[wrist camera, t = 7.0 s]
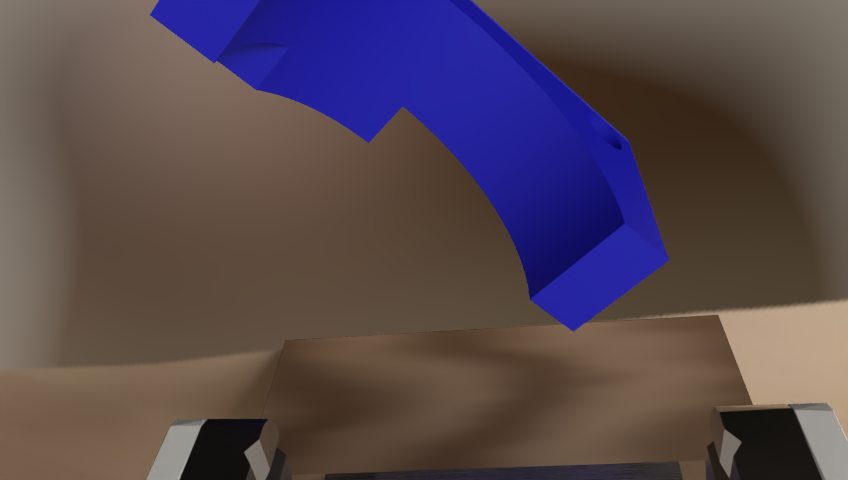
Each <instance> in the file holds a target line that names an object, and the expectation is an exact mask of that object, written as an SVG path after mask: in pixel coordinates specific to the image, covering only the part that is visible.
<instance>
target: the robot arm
mask: <svg viewBox="0 0 848 480" xmlns="http://www.w3.org/2000/svg"><path fill="white" fill-rule="evenodd" d="M709 426H710V430H711V433H712V437H713V440H714V441H712V442H711V443H710V444H709V445H708V446H707V448H706V460H705V467H706V480H848V439H847V437H846V435H845V433H844V431H843V429H842V427H841V425H840V423H839V421H838V419H837V417H836V415H835V412H834V410H833V408H831V407H830V406H829V405H828V404H827V403H808V404H788V405H786V404H770V405H743V406H716V407H713V409H712V412H711V416H710V423H709ZM279 437H280V434H279V431H278V428H277V426H276V423H275V421H274V420H271V419H203V420H177V421H176V422H175V423H174V424H173V425H172V426H171V427H170V428H169V430H168V432H167V434H166V436H165V438H164V441H163V443H162V445H161V447H160V449H159V451H158V454H157V456H156V458H155V460H154V462H153V465H152V467H151V469H150V471H149V473H148V476H147V478H146V480H292V478H291V470H290V464H289V461H288V458H287V455H286V454H285V453H283V452H282V451H281V450H280V449H278V448H277V444H278V440H279Z"/></svg>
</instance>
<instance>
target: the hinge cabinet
mask: <svg viewBox="0 0 848 480" xmlns="http://www.w3.org/2000/svg"><path fill="white" fill-rule="evenodd" d="M743 405H753V404H752V401H751V399H750V396H749V394H748V391H747V388H746V386H745V383H744V381H743V378H742V376H741V373H740V370H739V368H738V365H737V363H736V360H735V357H734V355H733V352H732V350H731V347H730V345H729V342H728V339H727V337H726V334H725V332H724V329H723V326H722V324H721V321H720V319H719V316H718V315H715V316H698V317H681V318H663V319H646V320H629V321H611V322H594V323H584V324H583V325H582V326H580V327H579V328H578V329H576V330H575V331H574V332H573V331H571V330H570V329H569V328H567V327H566V326H565V325H563V324H559V325H542V326H525V327H507V328H490V329H473V330H455V331H438V332H422V333H403V334H386V335H369V336H351V337H334V338H317V339H301V340H300V339H299V340H286V341H285V343H284V347H283V350H282V353H281V356H280V360H279V363H278V366H277V369H276V372H275V376H274V379H273V382H272V385H271V389H270V392H269V395H268V398H267V401H266V405H265V408H264V411H263V414H262V418H261V419H271V420H274V421H275V423H276V426H277V428H278V431H279V434H280V437H279V440H278V444H277V448H278V449H280V450H281V451H282V452H283V453H285V454H286V455H287V458H288V461H289V464H290V470H291V478H292V480H706V467H705V460H706V448H707V446H708V445H709V444H710V443H711V442H712V441H714V440H713V437H712V433H711V430H710V426H709V423H710V416H711V412H712V409H713V407H716V406H743Z"/></svg>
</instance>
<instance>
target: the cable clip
mask: <svg viewBox="0 0 848 480" xmlns="http://www.w3.org/2000/svg"><path fill="white" fill-rule="evenodd" d="M150 15H151V16H152V17H153V18H155V19H156V20H157V21H159V22H160V23H161V24H163V25H164V26H165V27H167V28H168V29H169V30H171V31H172V32H173V33H175V34H176V35H177V36H179V37H180V38H181V39H183V40H184V41H185V42H187V43H188V44H189V45H191V46H192V47H193V48H195V49H196V50H198V51H199V52H200V53H201V54H203V55H204V56H206V57H207V58H208V59H209V60H211V61H212V62H213V63H215V62H216V61H218V62H220V63H221V64H223V65H224V66H225V67H226V68H228V69H229V70H230V71H232V72H233V73H235V74H236V75H237V76H238V77H240V78H241V79H242V80H244V81H245V82H247V83H248V84H249V85H251V86H252V87H253V88H254V89H256V90H260V91H265V92H269V93H273V94H277V95H280V96H283V97H286V98H290V99H292V100H295V101H297V102H300V103H302V104H305V105H307V106H309V107H311V108H313V109H315V110H317V111H319V112H321V113H323V114H325V115H327V116H329V117H331V118H332V119H334V120H336V121H337V122H339V123H340V124H342V125H344V126H345V127H347V128H348V129H350V130H351V131H353V132H354V133H356V134H357V135H359V136H360V137H361V138H363V139H364V140H365V141H367V142H368V143H369V142H370V141H371V140H372V139H373V138H374V136H375V135H376V134H377V133H378V132H379V131H380V130H381V129H382V128H383V127H384V126H385V125H386V124H387V122H388V121H389V120H390V119H391V118H392V117H393V116H394V115H395V114H396V113H397V112H398V111H399V109H400V108H401V107H402V106H403V107H405V108H406V109H407V110H408V111H409V112H410V113H412V114H413V115H414V116H415V117H416V118H417V119H418V120H420V121H421V122H422V123H423V124H424V125H425V126H426V127H427V128H428V129H429V130H430V131H431V132H432V133H434V134H435V135H436V136H437V137H438V138H439V139H440V140H441V141H442V142H443V143H444V145H445V146H446V147H448V149H449V150H450V151H451V152H452V153H453V154H454V155H455V156H456V157H457V159H458V160H459V161H460V162H461V163H462V164H463V166H464V167H465V168H466V169H467V170H468V172H469V173H470V174H471V175H472V177H473V178H474V179H475V181H476V182H477V183H478V185H479V186H480V187H481V189H482V190H483V191H484V193H485V194H486V196H487V197H488V198H489V200H490V202H491V203H492V205H493V206H494V208H495V209H496V211H497V213H498V214H499V216H500V218H501V219H502V221H503V223H504V225H505V226H506V228H507V230H508V232H509V234H510V236H511V238H512V240H513V242H514V244H515V246H516V249H517V252H518V254H519V256H520V259H521V262H522V265H523V268H524V271H525V275H526V279H527V283H528V288H529V295H530V300H531V301H533V302H534V303H535V304H537V305H538V306H539V307H541V308H542V309H543V310H545V311H546V312H547V313H549V314H550V315H551V316H553V317H554V318H555V319H557V320H558V321H559V322H561V323H562V324H563V325H565V326H566V327H567V328H569V329H570V330H571V331H573V332H574V331H575V330H576V329H578V328H579V327H580V326H582V325H583V324H584V323H586V322H587V321H588V320H590V319H591V318H592V317H594V316H595V315H596V314H598V313H599V312H600V311H602V310H603V309H605V308H606V307H607V306H608V305H610V304H611V303H612V302H614V301H615V300H617V299H618V298H619V297H620V296H622V295H623V294H625V293H626V292H627V291H629V290H630V289H631V288H633V287H634V286H635V285H637V284H638V283H639V282H641V281H642V280H643V279H645V278H646V277H647V276H649V275H650V274H651V273H653V272H654V271H655V270H657V269H658V268H659V267H661V266H662V265H663V264H665V263H666V262H667V261H669V258H668V255H667V252H666V250H665V247H664V244H663V241H662V238H661V235H660V232H659V229H658V226H657V223H656V220H655V217H654V214H653V211H652V208H651V205H650V202H649V199H648V196H647V193H646V191H645V188H644V185H643V182H642V179H641V176H640V173H639V170H638V167H637V164H636V161H635V158H634V155H633V152H632V149H631V146H630V143H629V141H628V140H627V139H626V138H625V137H624V136H623V135H622V134H621V133H619V132H618V131H617V130H616V129H615V128H614V127H613V126H612V125H611V124H610V123H608V122H607V121H606V120H605V119H604V118H603V117H602V116H601V115H599V114H598V113H597V112H596V111H595V110H594V109H593V108H591V107H590V106H589V105H588V104H587V103H586V102H585V101H584V100H583V99H582V98H580V97H579V96H578V95H577V94H576V93H575V92H574V91H573V90H572V89H570V88H569V87H568V86H567V85H566V84H565V83H564V82H563V81H561V80H560V79H559V78H558V77H557V76H556V75H554V73H552V72H551V71H550V70H549V69H548V68H547V67H546V66H545V65H543V64H542V63H541V62H540V61H539V60H538V59H536V57H535V56H533V55H532V54H531V53H530V52H529V51H528V50H527V49H526V48H524V47H523V46H522V45H521V44H520V43H519V42H518V41H517V40H516V39H514V38H513V37H512V36H511V35H510V34H509V33H508V32H507V31H506V30H504V29H503V28H502V27H501V26H500V25H499V24H498V23H497V22H495V21H494V20H493V19H492V18H491V17H490V16H488V14H486V13H485V12H484V11H483V10H482V9H481V8H480V7H478V6H477V5H476V4H475V3H474V2H473V1H472V0H159V2H158V3H157V5H156V6H155V8H154V9H153V11H152V13H151V14H150Z"/></svg>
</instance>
